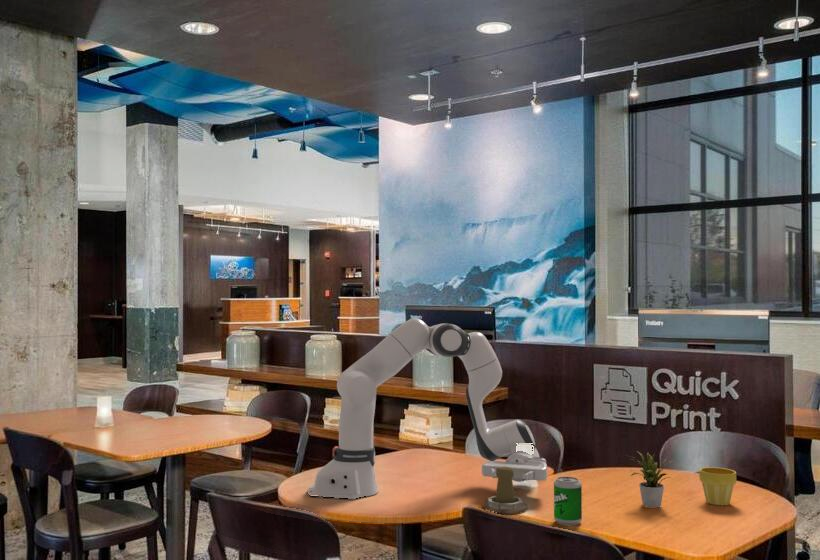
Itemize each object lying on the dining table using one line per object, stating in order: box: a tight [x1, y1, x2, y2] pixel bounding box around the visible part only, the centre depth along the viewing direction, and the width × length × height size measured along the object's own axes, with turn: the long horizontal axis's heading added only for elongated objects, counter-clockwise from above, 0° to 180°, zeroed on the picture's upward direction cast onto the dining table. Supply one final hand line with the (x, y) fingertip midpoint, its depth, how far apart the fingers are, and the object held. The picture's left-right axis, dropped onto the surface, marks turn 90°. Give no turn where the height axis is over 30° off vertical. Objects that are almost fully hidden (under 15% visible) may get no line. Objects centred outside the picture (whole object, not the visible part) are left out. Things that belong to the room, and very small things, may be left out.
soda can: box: [553, 476, 583, 527], centre depth 211 cm, size 8×8×12 cm
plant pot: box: [698, 466, 737, 507], centre depth 231 cm, size 10×10×10 cm
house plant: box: [625, 451, 674, 508], centre depth 229 cm, size 14×14×16 cm
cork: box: [495, 466, 515, 503], centre depth 225 cm, size 6×6×11 cm
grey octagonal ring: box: [482, 495, 528, 515], centre depth 225 cm, size 13×13×2 cm
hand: (509, 476), depth 230 cm, fingers open, 8 cm apart
